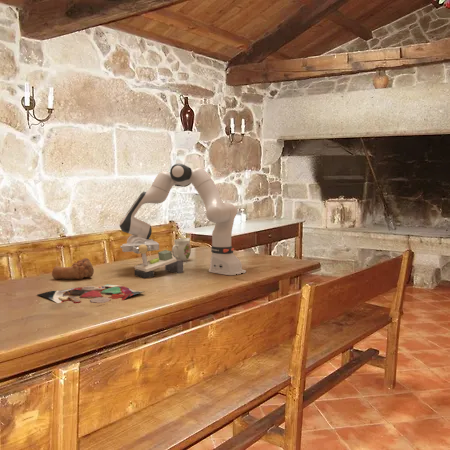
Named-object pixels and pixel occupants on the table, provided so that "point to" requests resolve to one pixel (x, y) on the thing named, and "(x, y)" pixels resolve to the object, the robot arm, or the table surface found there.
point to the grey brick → (173, 267)
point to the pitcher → (182, 249)
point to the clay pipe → (74, 270)
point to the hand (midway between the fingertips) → (143, 249)
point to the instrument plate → (155, 265)
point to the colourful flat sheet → (90, 294)
